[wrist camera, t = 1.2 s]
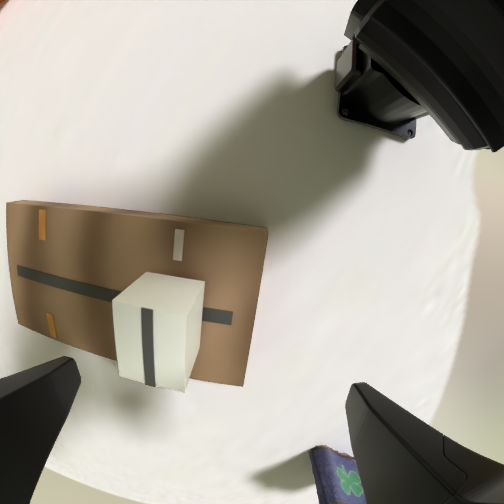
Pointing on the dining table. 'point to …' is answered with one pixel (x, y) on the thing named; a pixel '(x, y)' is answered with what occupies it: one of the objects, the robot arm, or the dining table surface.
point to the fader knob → (158, 329)
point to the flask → (336, 477)
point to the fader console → (133, 275)
